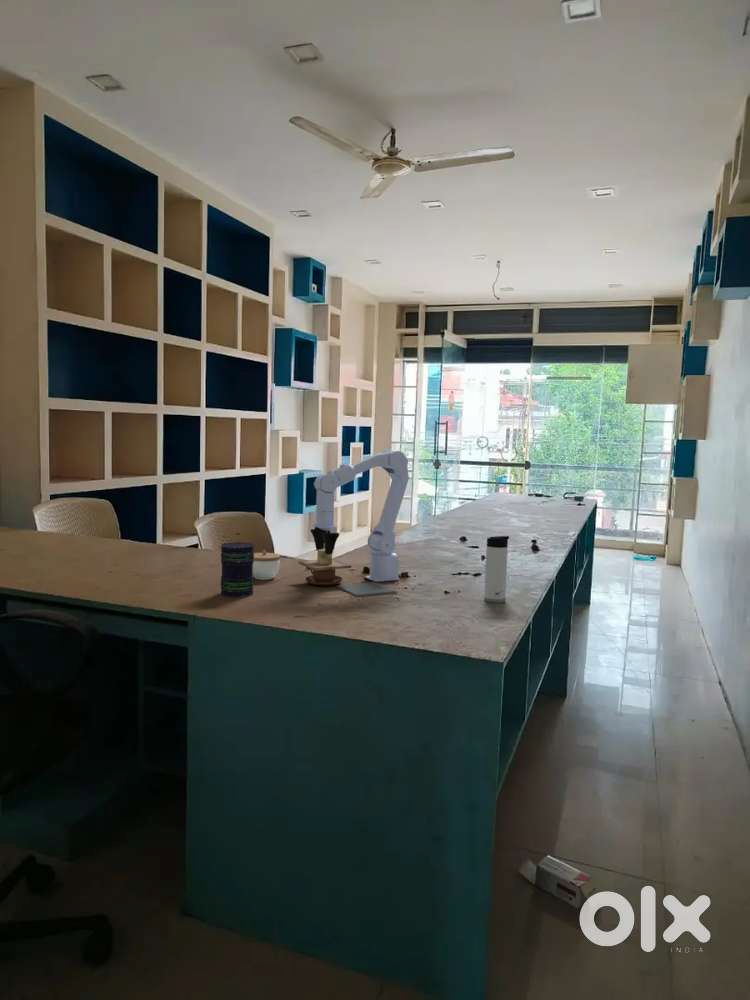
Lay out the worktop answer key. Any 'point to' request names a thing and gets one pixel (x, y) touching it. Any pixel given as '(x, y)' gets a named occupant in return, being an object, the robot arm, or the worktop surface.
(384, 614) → the worktop surface
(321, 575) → the cup and saucer
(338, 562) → the lid
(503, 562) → the travel mug
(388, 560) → the robot arm
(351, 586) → the mat
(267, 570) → the lidded jar
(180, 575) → the worktop surface
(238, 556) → the storage jar
